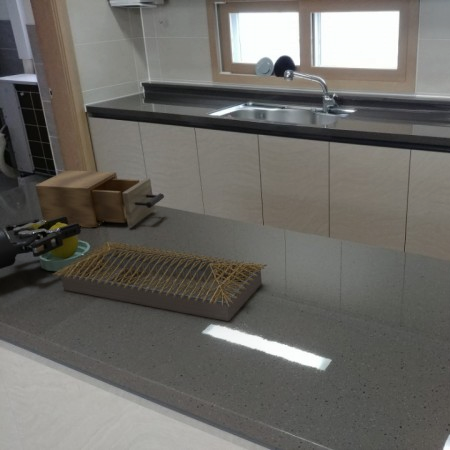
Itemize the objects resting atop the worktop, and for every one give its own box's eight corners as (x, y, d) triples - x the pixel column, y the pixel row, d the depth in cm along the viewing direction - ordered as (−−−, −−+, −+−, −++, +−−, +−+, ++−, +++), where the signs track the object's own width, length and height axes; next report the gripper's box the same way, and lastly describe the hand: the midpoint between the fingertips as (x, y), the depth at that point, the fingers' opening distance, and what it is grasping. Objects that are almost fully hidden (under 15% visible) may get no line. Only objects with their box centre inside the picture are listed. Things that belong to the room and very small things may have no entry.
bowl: (30, 270, 104) (27, 259, 103) (61, 249, 112) (59, 238, 111) (73, 274, 101) (70, 262, 100) (101, 253, 110) (99, 242, 109)
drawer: (170, 210, 128) (166, 179, 125) (149, 227, 119) (144, 194, 116) (109, 206, 132) (103, 176, 129) (83, 222, 123) (77, 190, 120)
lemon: (87, 256, 107) (79, 220, 104) (63, 268, 103) (55, 230, 100) (69, 251, 110) (61, 215, 107) (45, 262, 106) (36, 225, 103)
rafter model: (56, 291, 96) (49, 260, 93) (109, 256, 108) (104, 228, 106) (230, 325, 84) (227, 291, 81) (268, 281, 96) (266, 251, 94)
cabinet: (122, 209, 132) (116, 172, 129) (95, 228, 122) (87, 188, 118) (74, 206, 136) (67, 170, 132) (44, 224, 125) (35, 185, 122)
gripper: (-13, 245, 88) (86, 215, 100) (-40, 223, 98) (53, 198, 109) (-1, 285, 91) (93, 251, 102) (-28, 260, 101) (61, 232, 112)
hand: (72, 224), depth 106 cm, fingers closed on lemon, 5 cm apart
